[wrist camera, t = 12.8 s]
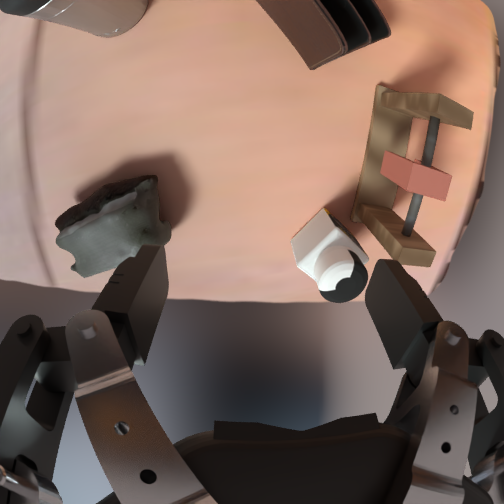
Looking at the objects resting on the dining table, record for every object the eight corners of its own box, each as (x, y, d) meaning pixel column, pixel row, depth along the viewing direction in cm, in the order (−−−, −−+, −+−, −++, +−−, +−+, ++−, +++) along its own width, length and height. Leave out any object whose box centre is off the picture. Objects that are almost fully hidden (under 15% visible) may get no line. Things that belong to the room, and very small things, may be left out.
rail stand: (376, 85, 28) (437, 82, 16) (411, 98, 29) (477, 105, 17) (350, 218, 38) (389, 271, 26) (384, 223, 39) (429, 274, 27)
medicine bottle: (353, 235, 40) (385, 281, 29) (321, 266, 42) (340, 318, 32) (323, 206, 37) (350, 247, 27) (289, 240, 40) (302, 290, 30)
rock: (156, 157, 34) (134, 171, 27) (189, 227, 39) (176, 255, 32) (67, 206, 37) (40, 227, 30) (99, 262, 42) (78, 289, 35)
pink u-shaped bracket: (384, 150, 29) (413, 162, 22) (420, 160, 29) (452, 176, 22) (380, 173, 30) (406, 190, 24) (415, 182, 30) (445, 201, 24)
